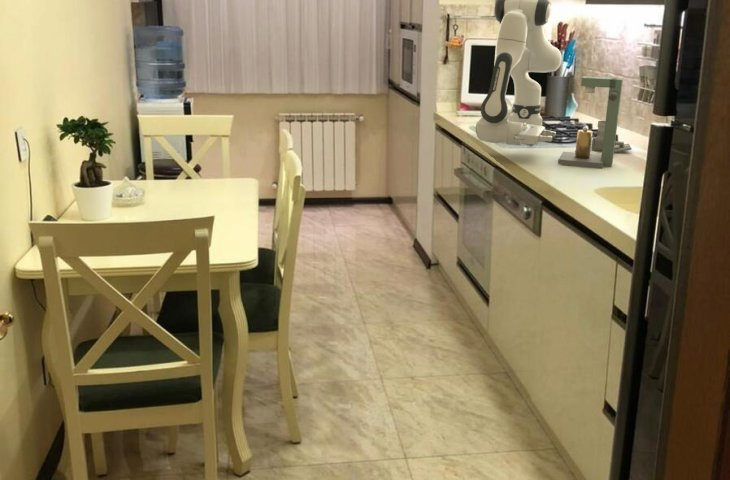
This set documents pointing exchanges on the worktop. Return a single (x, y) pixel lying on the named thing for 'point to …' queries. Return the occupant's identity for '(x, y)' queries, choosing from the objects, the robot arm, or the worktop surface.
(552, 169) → the worktop surface
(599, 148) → the camera
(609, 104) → the press
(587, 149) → the tan upright block
